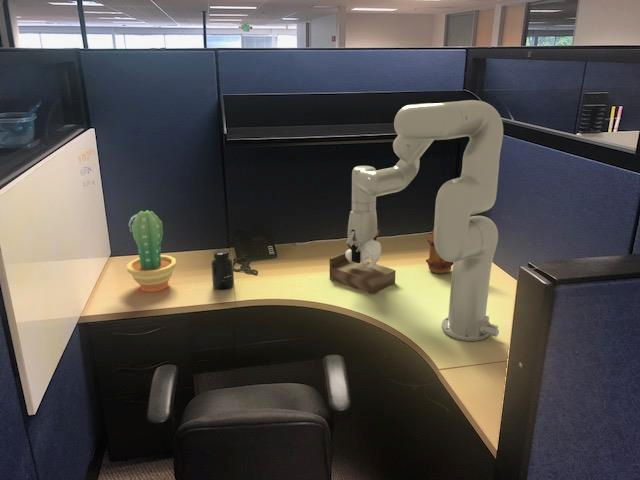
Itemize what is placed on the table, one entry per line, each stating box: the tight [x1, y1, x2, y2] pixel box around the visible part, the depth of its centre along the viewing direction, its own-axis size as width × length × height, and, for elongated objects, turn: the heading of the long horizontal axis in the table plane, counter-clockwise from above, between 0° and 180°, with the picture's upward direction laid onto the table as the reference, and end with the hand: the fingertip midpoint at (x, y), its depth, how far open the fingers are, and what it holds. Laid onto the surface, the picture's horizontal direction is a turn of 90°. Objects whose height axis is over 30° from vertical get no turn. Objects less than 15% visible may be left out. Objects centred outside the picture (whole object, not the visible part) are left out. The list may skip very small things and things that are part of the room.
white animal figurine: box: [345, 240, 382, 268], centre depth 166 cm, size 6×8×12 cm
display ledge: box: [329, 251, 397, 295], centre depth 169 cm, size 18×12×8 cm, turn 47°
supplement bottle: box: [210, 248, 235, 291], centre depth 165 cm, size 7×7×12 cm
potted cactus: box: [126, 209, 177, 293], centre depth 164 cm, size 15×15×25 cm
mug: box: [425, 229, 454, 274], centre depth 174 cm, size 15×8×15 cm, turn 62°
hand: (362, 258), depth 167 cm, fingers closed on white animal figurine, 6 cm apart
